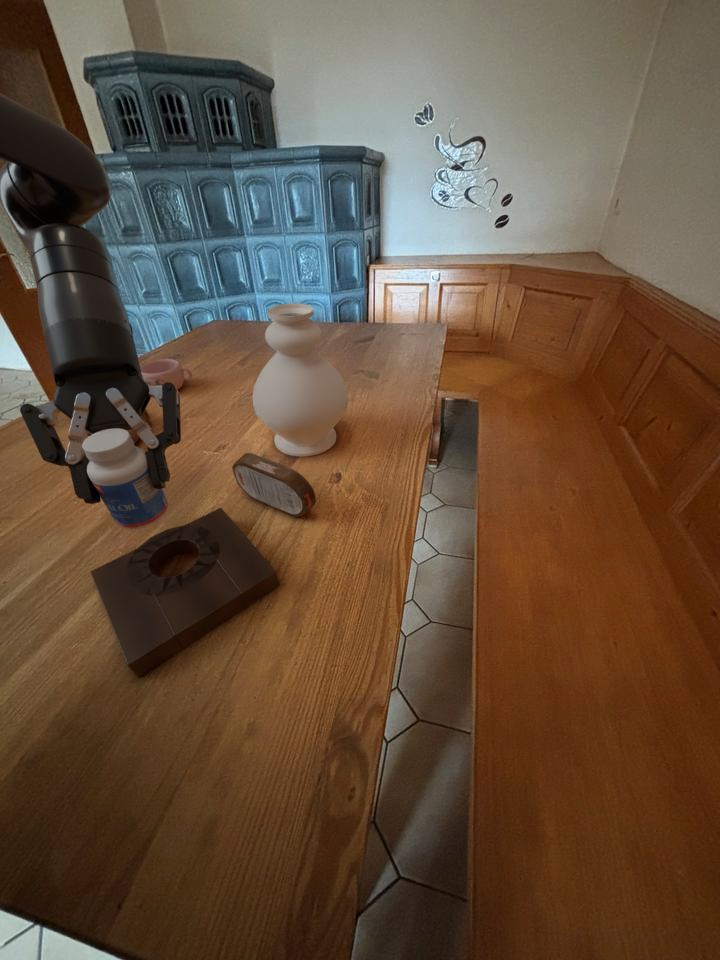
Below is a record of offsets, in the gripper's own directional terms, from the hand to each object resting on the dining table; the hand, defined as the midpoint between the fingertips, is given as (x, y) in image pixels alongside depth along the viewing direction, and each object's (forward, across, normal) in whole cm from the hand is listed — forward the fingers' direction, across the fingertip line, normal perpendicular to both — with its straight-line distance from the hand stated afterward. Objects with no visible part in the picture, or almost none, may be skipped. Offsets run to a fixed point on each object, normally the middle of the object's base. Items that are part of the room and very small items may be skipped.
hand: (127, 494), depth 38 cm
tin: (+4, +15, +22) cm, 27 cm away
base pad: (+12, +1, +14) cm, 18 cm away
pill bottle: (+2, 0, +4) cm, 5 cm away
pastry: (-20, -12, +46) cm, 52 cm away
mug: (-33, -1, +60) cm, 68 cm away
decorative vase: (-9, +24, +34) cm, 43 cm away
